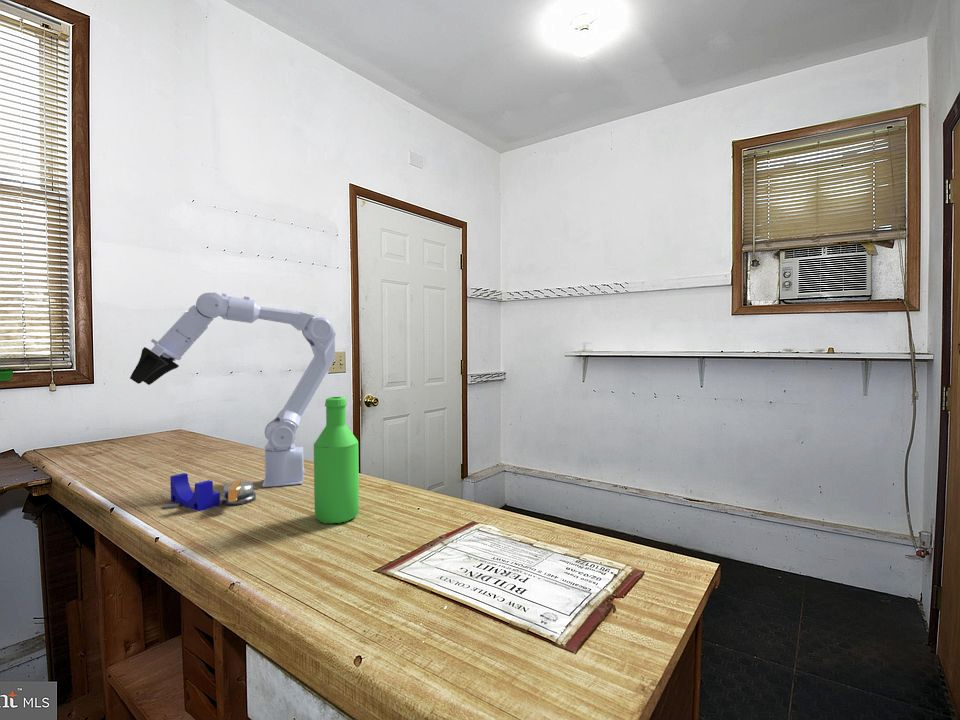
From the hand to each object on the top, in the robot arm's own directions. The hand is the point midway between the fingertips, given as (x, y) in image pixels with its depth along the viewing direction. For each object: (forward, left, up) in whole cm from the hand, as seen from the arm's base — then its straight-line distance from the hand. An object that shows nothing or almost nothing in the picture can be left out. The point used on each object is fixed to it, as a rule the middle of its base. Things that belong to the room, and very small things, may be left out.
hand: (139, 381), depth 109 cm
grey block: (-7, +6, -27) cm, 29 cm away
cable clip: (-12, +5, -28) cm, 31 cm away
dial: (-21, +9, -26) cm, 34 cm away
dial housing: (-21, +6, -27) cm, 35 cm away
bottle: (-42, +24, -27) cm, 56 cm away
